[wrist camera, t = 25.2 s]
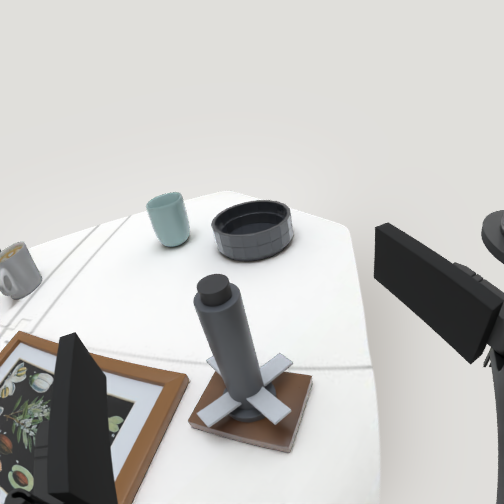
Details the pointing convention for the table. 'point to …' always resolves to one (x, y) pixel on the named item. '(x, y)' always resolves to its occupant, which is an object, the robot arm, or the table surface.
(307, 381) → the board
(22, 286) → the coffee mug
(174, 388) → the wall art
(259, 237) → the processor bowl
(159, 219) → the cup
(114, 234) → the table surface
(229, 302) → the blade
